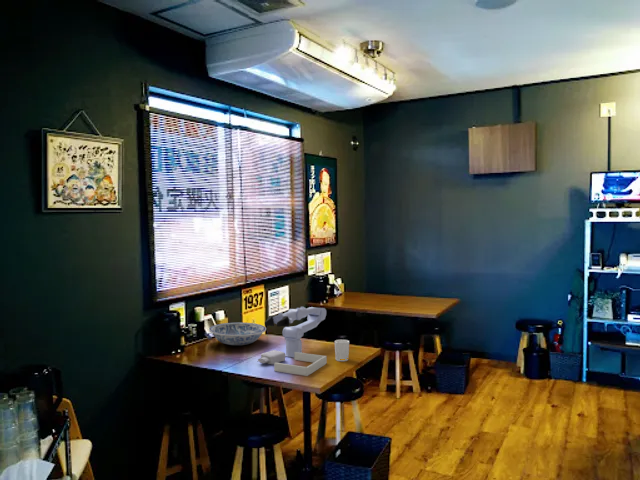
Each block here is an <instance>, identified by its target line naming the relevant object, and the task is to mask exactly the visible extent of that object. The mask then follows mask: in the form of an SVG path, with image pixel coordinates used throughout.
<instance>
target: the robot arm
mask: <svg viewBox="0 0 640 480" xmlns="http://www.w3.org/2000/svg"><path fill="white" fill-rule="evenodd" d="M326 316H327V309H326V308H325V307H313V306H311V307H310V306H309V307H307V308H306V307H304V306H300V307H296V308H289V309H288V311H286V312H284V313H283V312H278V315H275V316H273V315H269V316H268V318H267V319H266V320H265V321H264V327H268V326H271V327H274V326H275V324H276V327H283V329H282V337H283V338H284V340H285V358H286V357H288V358H294V352H299V353H303V352H302V351H303V345H302V344H303V342H302V340H301V338H302V337H304V333H307V332H308V331H311V330H313V329H315V328H317V327H318V325H319V324H320V323H321V322H323V321H324V320H326ZM306 317H307V318H306ZM305 318H306V319H307V320H306V321H304V322H302V323H299V324H297V325H294V326H290V324H293V323H294V321H301V320H302V319H305Z"/></svg>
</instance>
